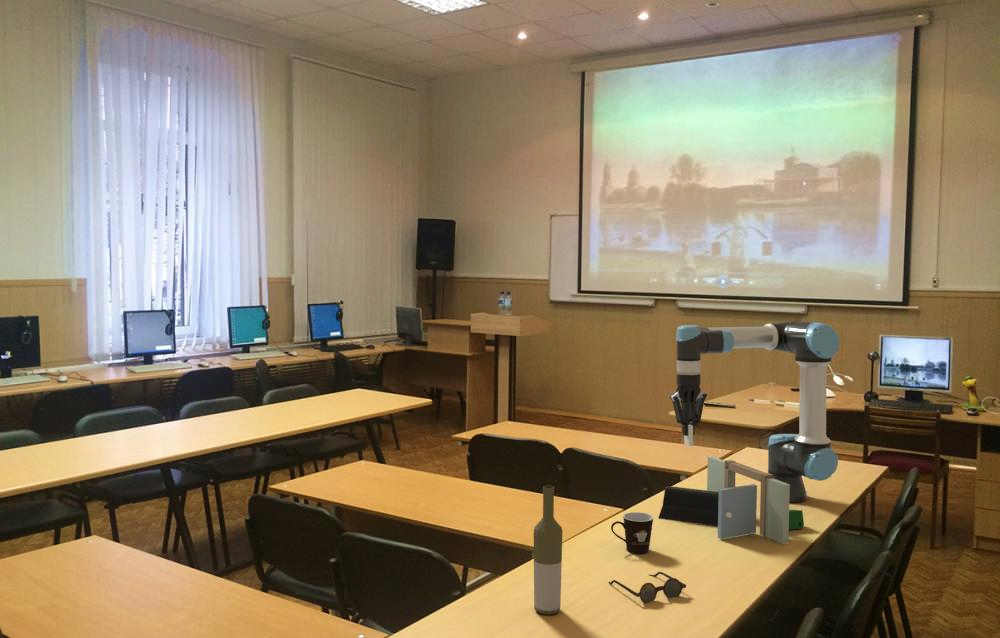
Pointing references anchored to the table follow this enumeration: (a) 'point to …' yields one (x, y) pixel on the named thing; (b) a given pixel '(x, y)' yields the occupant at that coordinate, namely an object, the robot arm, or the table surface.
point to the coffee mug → (636, 532)
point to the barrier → (690, 506)
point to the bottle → (547, 558)
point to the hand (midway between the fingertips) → (688, 444)
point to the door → (737, 511)
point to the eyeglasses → (656, 589)
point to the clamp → (796, 519)
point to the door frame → (771, 498)
